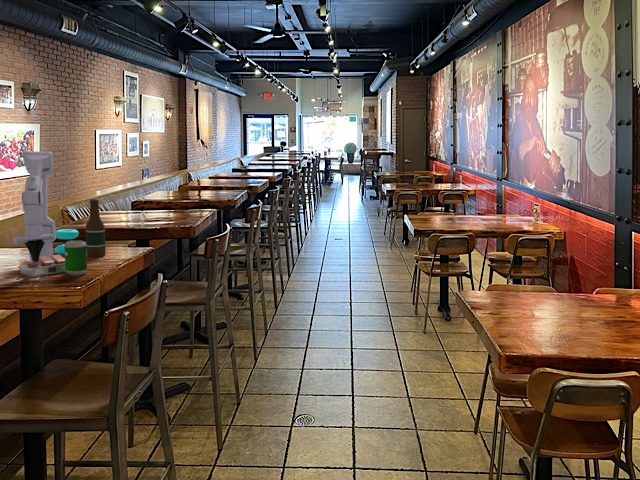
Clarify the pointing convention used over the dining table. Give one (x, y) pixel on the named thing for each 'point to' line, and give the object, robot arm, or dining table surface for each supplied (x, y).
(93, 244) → the beer bottle
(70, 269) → the soda can
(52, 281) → the dining table surface
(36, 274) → the console
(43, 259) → the rocker
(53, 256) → the rocker
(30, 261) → the rocker
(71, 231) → the donuts
